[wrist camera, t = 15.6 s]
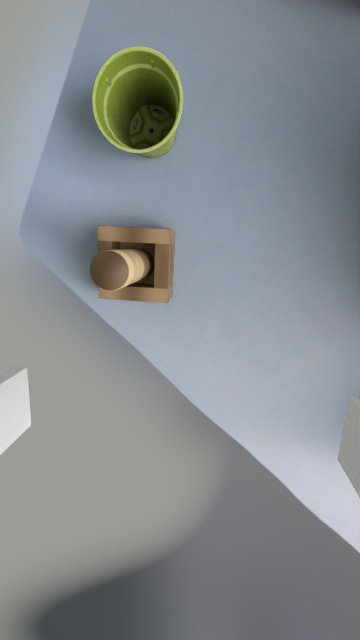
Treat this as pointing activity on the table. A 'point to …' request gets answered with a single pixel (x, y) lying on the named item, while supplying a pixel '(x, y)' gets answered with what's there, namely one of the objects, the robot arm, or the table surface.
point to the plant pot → (138, 101)
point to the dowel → (120, 267)
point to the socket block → (161, 250)
